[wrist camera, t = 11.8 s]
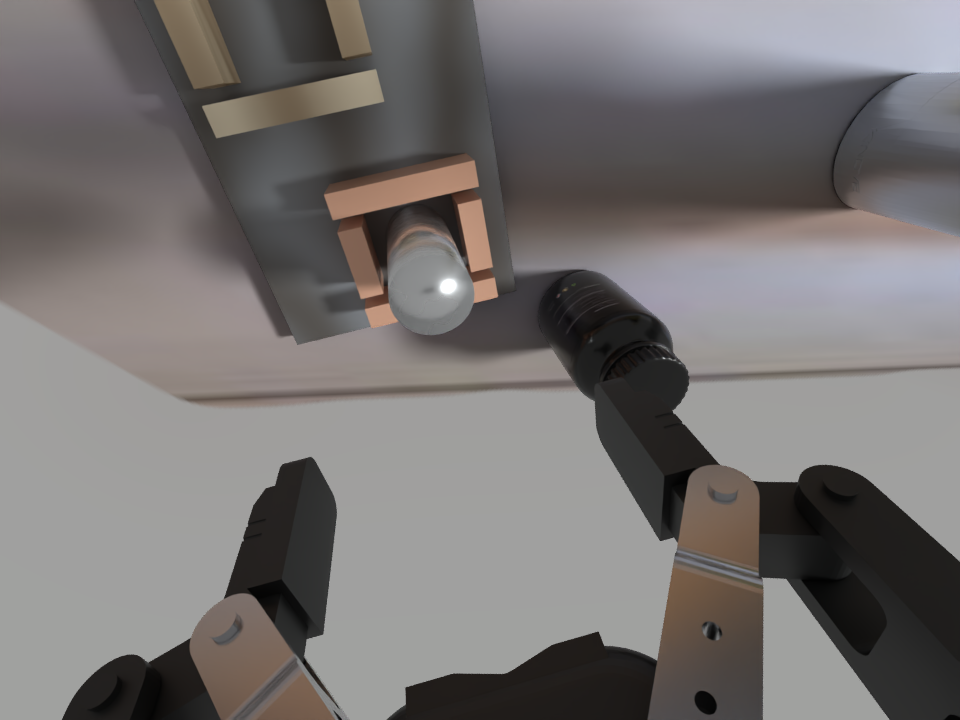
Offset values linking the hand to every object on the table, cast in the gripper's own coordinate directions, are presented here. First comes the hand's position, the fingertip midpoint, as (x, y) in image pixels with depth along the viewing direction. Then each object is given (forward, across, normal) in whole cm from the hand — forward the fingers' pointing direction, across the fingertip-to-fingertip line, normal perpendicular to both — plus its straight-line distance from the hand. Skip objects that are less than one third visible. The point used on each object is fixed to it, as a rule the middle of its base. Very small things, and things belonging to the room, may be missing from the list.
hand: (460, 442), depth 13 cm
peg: (+20, 0, 0) cm, 20 cm away
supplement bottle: (+22, -11, +9) cm, 26 cm away
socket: (+20, 0, 0) cm, 20 cm away
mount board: (+21, +2, -6) cm, 22 cm away
